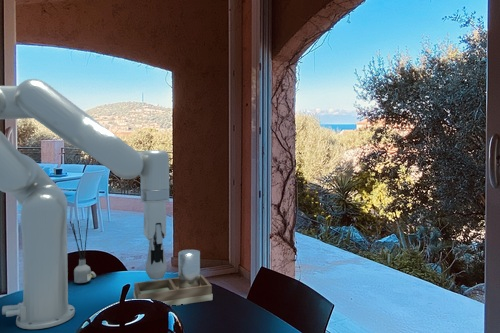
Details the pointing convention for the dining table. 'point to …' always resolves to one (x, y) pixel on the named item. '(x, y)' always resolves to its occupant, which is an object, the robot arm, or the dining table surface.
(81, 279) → the reed diffuser
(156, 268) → the salt shaker
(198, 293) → the divided tray
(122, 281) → the dining table surface
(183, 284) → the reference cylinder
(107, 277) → the dining table surface
